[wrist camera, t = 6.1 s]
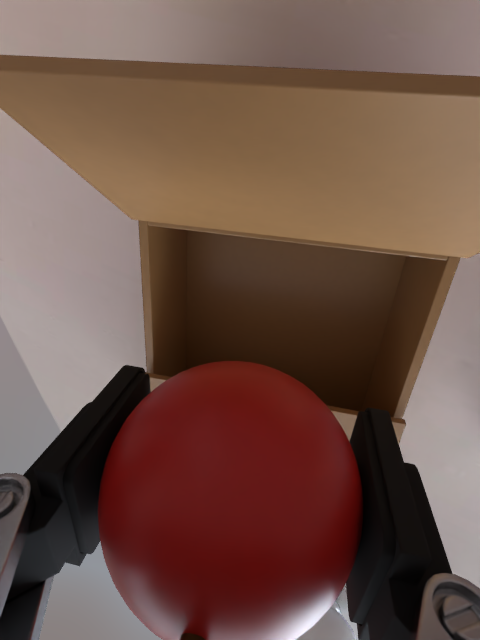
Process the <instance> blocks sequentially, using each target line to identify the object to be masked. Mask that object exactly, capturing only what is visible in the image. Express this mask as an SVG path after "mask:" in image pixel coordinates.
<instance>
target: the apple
mask: <svg viewBox="0 0 480 640" xmlns="http://www.w3.org/2000/svg"><path fill="white" fill-rule="evenodd" d="M98 523H99V535H100V541H101V546H102V550H103V554H104V558H105V562H106V565H107V567H108V570H109V572H110V575H111V577H112V580H113V582H114V584H115V586H116V588H117V590H118V591H119V593H120V595H121V596H122V598H123V599H124V601H125V602H126V604H127V606H128V607H129V608H130V610H131V611H132V612H133V613H134V615H135V616H137V618H138V619H139V620H140V621H141V622H142V623H143V624H144V625H145V626H146V627H147V628H148V629H149V630H150V631H152V632H153V633H154V634H155V635H157V636H158V637H160V638H161V639H163V640H296V639H297V638H298V637H300V636H301V635H302V634H304V633H305V632H306V631H308V630H309V629H310V628H312V627H313V626H314V625H315V624H316V623H317V622H318V621H319V620H320V619H321V617H322V616H323V615H324V614H325V613H326V612H327V611H328V610H329V609H330V607H331V606H332V605H333V603H334V602H335V600H336V599H337V597H338V596H339V594H340V592H341V591H342V589H343V587H344V585H345V584H346V582H347V580H348V577H349V575H350V572H351V570H352V568H353V565H354V563H355V559H356V555H357V551H358V547H359V543H360V539H361V535H362V523H363V491H362V484H361V478H360V473H359V469H358V464H357V461H356V458H355V455H354V452H353V450H352V447H351V445H350V442H349V440H348V437H347V436H346V434H345V432H344V430H343V428H342V427H341V425H340V423H339V422H338V420H337V419H336V417H335V416H334V414H333V413H332V412H331V410H330V409H329V408H328V407H327V405H326V404H325V403H324V402H323V401H322V400H321V399H320V398H319V397H318V396H317V395H316V394H315V393H314V392H313V391H311V390H310V389H309V388H308V387H306V386H305V385H304V384H303V383H301V382H300V381H298V380H296V379H295V378H293V377H291V376H290V375H287V374H285V373H283V372H281V371H279V370H277V369H274V368H271V367H268V366H265V365H261V364H257V363H252V362H243V361H219V362H211V363H207V364H203V365H199V366H196V367H193V368H190V369H188V370H185V371H183V372H180V373H178V374H177V375H175V376H173V377H172V378H170V379H168V380H166V381H165V382H163V383H161V384H160V385H159V386H158V387H156V388H155V389H154V390H153V391H152V392H150V393H149V394H148V395H147V396H146V397H145V398H144V399H142V401H141V402H140V403H139V404H138V405H137V406H136V408H135V409H134V410H133V411H132V413H131V414H130V415H129V416H128V417H127V419H126V420H125V422H124V424H123V426H122V427H121V429H120V431H119V432H118V434H117V436H116V438H115V439H114V441H113V444H112V446H111V449H110V451H109V454H108V456H107V459H106V462H105V465H104V469H103V474H102V478H101V482H100V490H99V501H98Z"/></svg>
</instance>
